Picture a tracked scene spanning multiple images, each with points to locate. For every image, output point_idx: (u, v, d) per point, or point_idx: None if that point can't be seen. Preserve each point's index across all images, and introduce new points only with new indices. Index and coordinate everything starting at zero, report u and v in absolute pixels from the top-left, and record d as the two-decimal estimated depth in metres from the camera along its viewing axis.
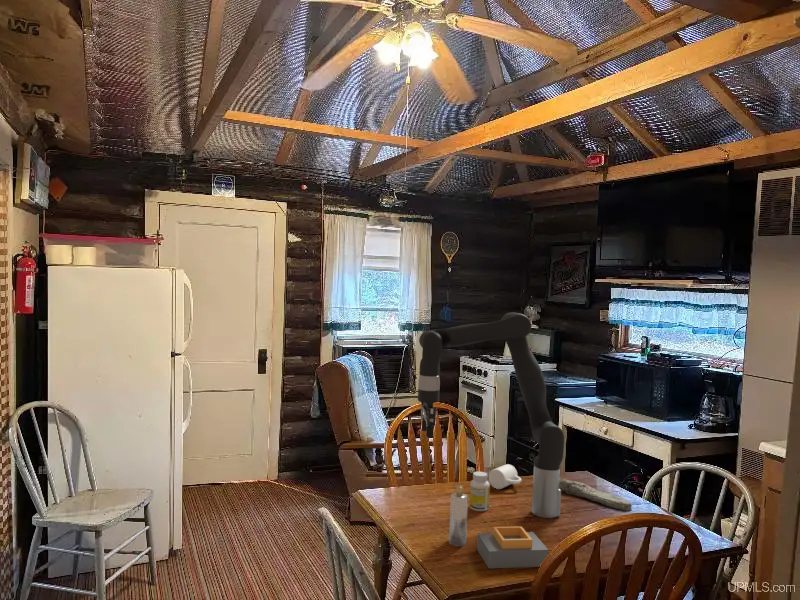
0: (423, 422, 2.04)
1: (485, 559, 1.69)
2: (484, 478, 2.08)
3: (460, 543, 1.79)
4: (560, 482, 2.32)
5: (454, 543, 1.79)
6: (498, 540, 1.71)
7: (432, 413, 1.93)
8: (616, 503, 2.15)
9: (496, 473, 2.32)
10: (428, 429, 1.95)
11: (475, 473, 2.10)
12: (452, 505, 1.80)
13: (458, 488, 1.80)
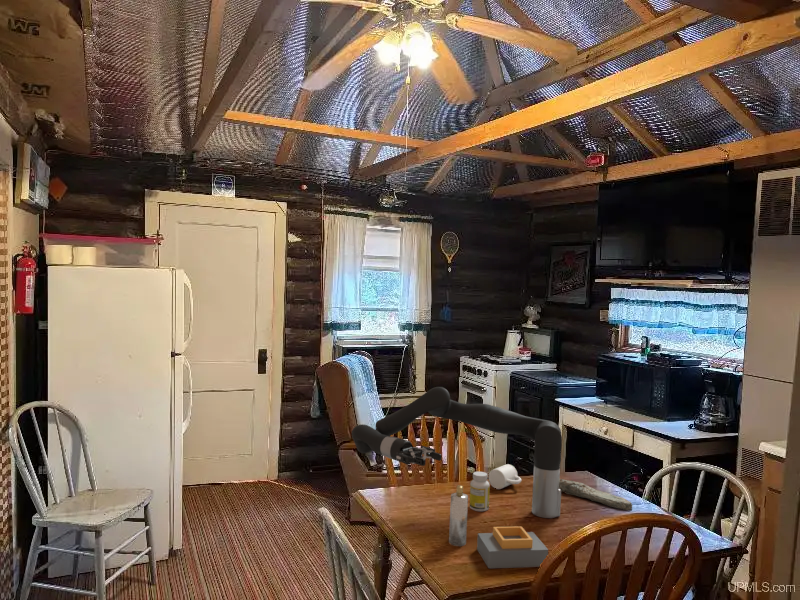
0: (432, 457, 1.93)
1: (485, 559, 1.69)
2: (484, 478, 2.08)
3: (460, 543, 1.79)
4: (560, 482, 2.32)
5: (454, 543, 1.79)
6: (498, 540, 1.71)
7: (399, 457, 1.89)
8: (617, 503, 2.15)
9: (496, 473, 2.32)
10: (415, 463, 1.86)
11: (475, 473, 2.10)
12: (452, 505, 1.80)
13: (458, 488, 1.80)
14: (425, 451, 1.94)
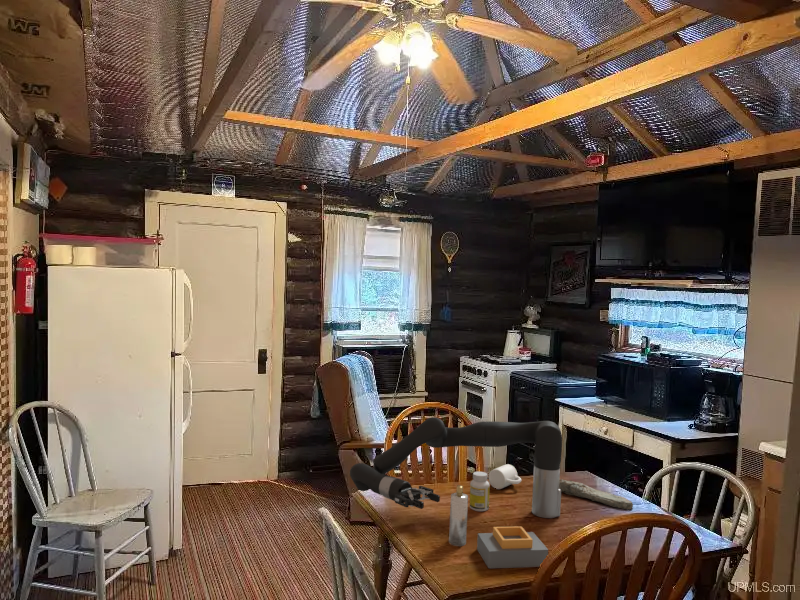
0: (431, 498, 1.94)
1: (485, 559, 1.69)
2: (484, 478, 2.08)
3: (460, 543, 1.79)
4: (559, 483, 2.31)
5: (454, 543, 1.79)
6: (498, 540, 1.71)
7: (397, 499, 1.89)
8: (618, 502, 2.16)
9: (496, 473, 2.32)
10: None
11: (475, 473, 2.10)
12: (452, 505, 1.80)
13: (458, 488, 1.80)
14: (423, 492, 1.95)
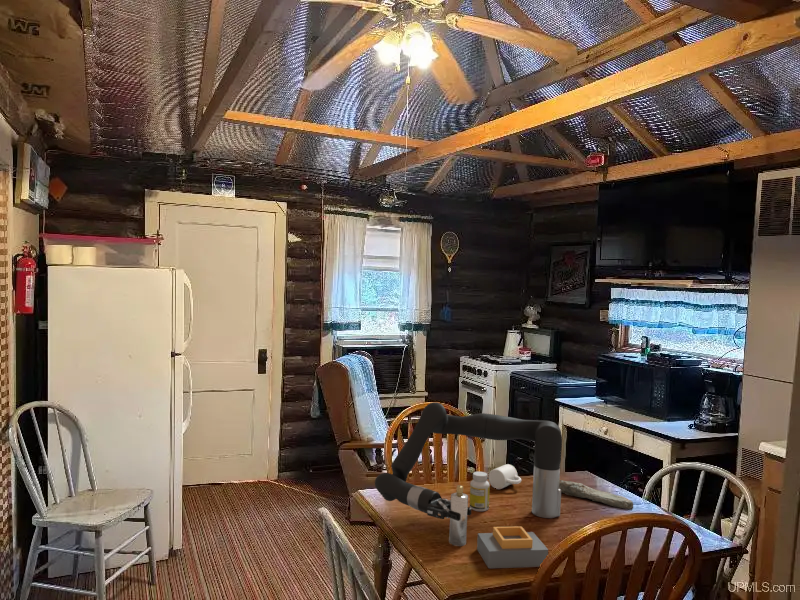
0: None
1: (485, 559, 1.69)
2: (484, 478, 2.08)
3: (460, 543, 1.79)
4: (559, 484, 2.30)
5: (454, 543, 1.79)
6: (498, 540, 1.71)
7: (431, 511, 1.80)
8: (619, 502, 2.16)
9: (496, 473, 2.32)
10: (450, 517, 1.79)
11: (475, 473, 2.10)
12: (452, 505, 1.80)
13: (458, 488, 1.80)
14: None
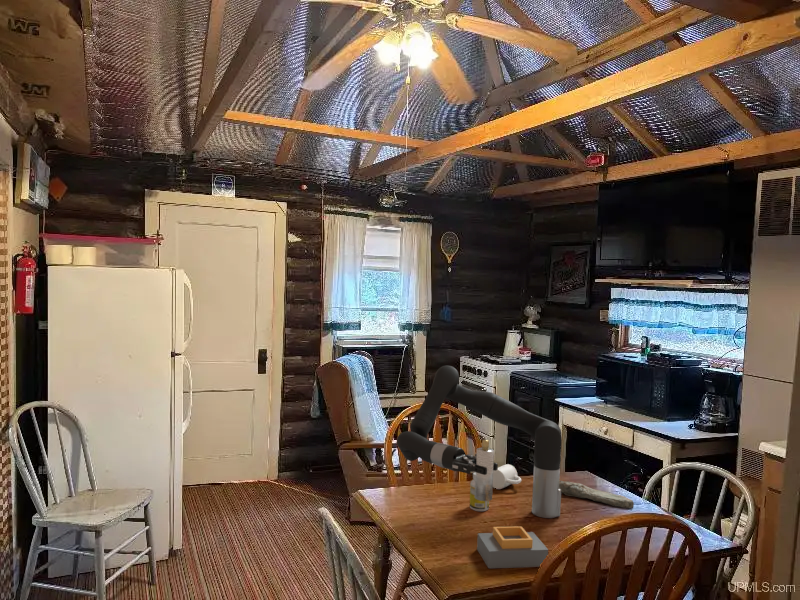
0: None
1: (485, 559, 1.69)
2: None
3: (486, 498, 1.75)
4: (559, 484, 2.29)
5: (480, 498, 1.75)
6: (498, 540, 1.71)
7: (456, 466, 1.76)
8: (620, 502, 2.17)
9: (496, 473, 2.32)
10: (476, 472, 1.74)
11: (475, 473, 2.10)
12: (478, 459, 1.76)
13: (484, 442, 1.76)
14: None
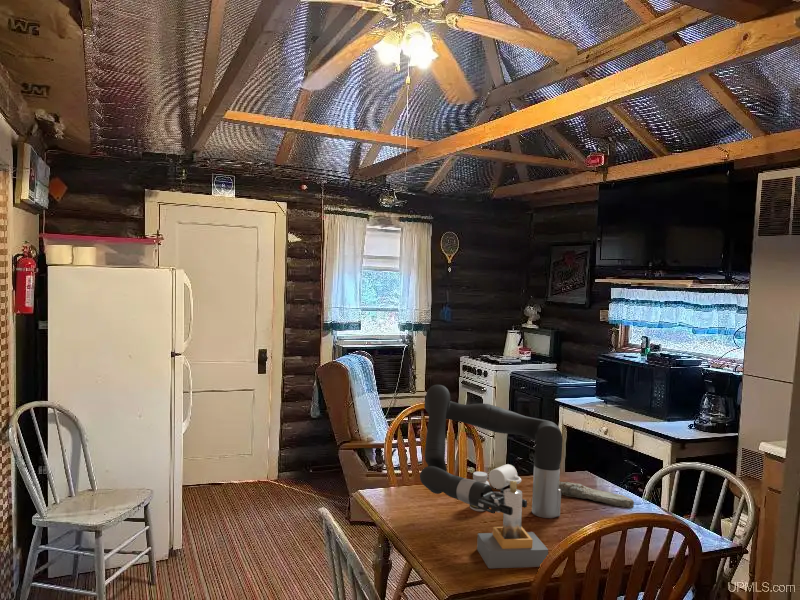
0: None
1: (485, 559, 1.69)
2: (484, 478, 2.08)
3: None
4: (559, 485, 2.28)
5: None
6: (498, 540, 1.71)
7: (482, 504, 1.72)
8: (621, 501, 2.17)
9: (496, 473, 2.32)
10: (501, 511, 1.69)
11: (475, 473, 2.10)
12: (506, 501, 1.71)
13: (512, 483, 1.72)
14: None
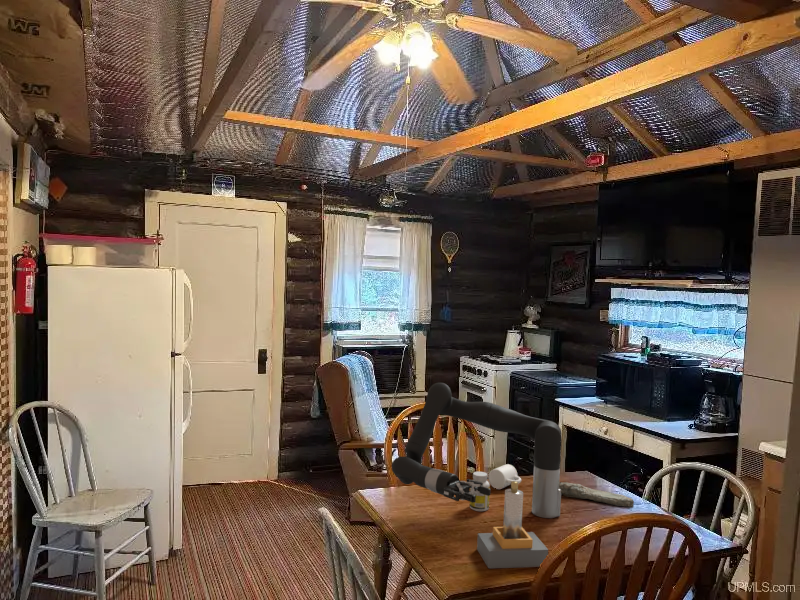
0: (481, 492, 1.85)
1: (485, 559, 1.69)
2: (484, 478, 2.08)
3: None
4: (559, 486, 2.28)
5: None
6: (498, 540, 1.71)
7: (447, 492, 1.80)
8: (622, 501, 2.18)
9: (496, 473, 2.32)
10: (465, 499, 1.78)
11: (475, 473, 2.10)
12: (507, 502, 1.71)
13: (513, 484, 1.72)
14: (473, 485, 1.86)
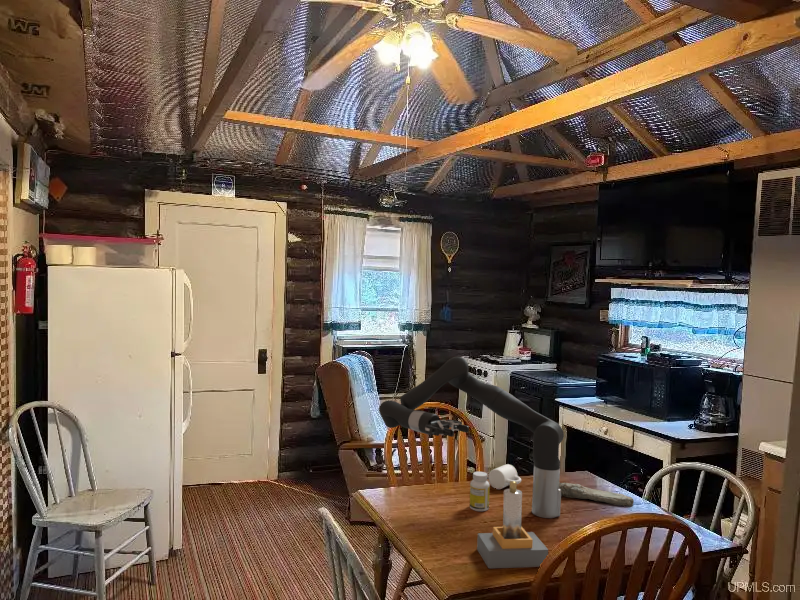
0: (460, 429, 2.00)
1: (485, 559, 1.69)
2: (484, 478, 2.08)
3: None
4: (559, 487, 2.27)
5: None
6: (498, 540, 1.71)
7: (428, 429, 1.95)
8: (622, 500, 2.19)
9: (495, 473, 2.32)
10: (444, 434, 1.93)
11: (475, 473, 2.10)
12: (506, 502, 1.71)
13: (512, 484, 1.72)
14: (452, 424, 2.01)
